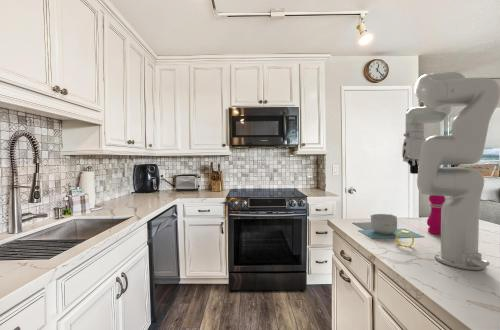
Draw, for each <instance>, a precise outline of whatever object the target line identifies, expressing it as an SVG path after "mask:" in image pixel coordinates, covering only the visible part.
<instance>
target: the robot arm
mask: <svg viewBox="0 0 500 330" xmlns="http://www.w3.org/2000/svg"><path fill="white" fill-rule="evenodd" d="M414 94H415V96H416V98H417V99H418V100H419V101H421V102H422V103H423V105H424V106H417V107H411V108H409V110H408V111H406V113H405V130H404V131H405V133H404V134H403V137H405V138H404V139H403V144H402V151H401V152H402V153H401V155H402V161H403V162H406V163H407V164H408V166H409V173H410V174H413V175H415V174H417V179H416V184H417V185H416V186H417V189H418V191H419V192H420V193H421V194H423V195H426V196H430V195H434V196H444V197H448V198H447V199H445V202H444V203H443V206H442V209H441V235H440V251H437V252H435V254H434V258H435V260H437V261H438V262H440V263H441V264H445V265H447V266H450V267H453V268H457V269H461V270H462V269H463V270H469V271H480V270H485V269H487V267H488V266H489V265H490V261H487V260H485V259H482V253H480V252H479V234H480V232H479V230H480V229H479V228H480V227H479V225H480V204H481V198H482V194H483V191H484V187H485V178H484V175H483V174H482V173H481V172H480V171H479V170H477V169H474V168H471V167H464V166H463V167H461V166H459V167H457V166H456V167H455V165H474V164H478V163H479V162H480V161H481V159H482V158H483V154H484V151H485V146H486V140H487V135H488V130H489V125H490V122H491V118H492V116H493V114H494V112H495V110H496V108H497V106H498V104H499V102H500V101H499V100H500V85H499V83H498V81H496V80H495V79H493V78H489V77H466V76H465V75H464V74H462V73H461V72H457V71H447V72H446V71H445V72H437V73H436V72H435V73H427V74H423V75H421V76H420V77H419V78H418V79H417V81H416V83H415V85H414ZM462 106H463V107H464V108H463V109H461V110H460V111H459V112H458V113H457V114H456V116H455V117H454V118H453V120H452V124H451V130H450V132H449V134H448V135H445V134H444V135H443V134H441V135H432V136H429V137H426V138H425V137H424V136H425V124H437V123H440V122H442V121H444V120H445V119H447V118H448V117H449V115H450V113H451V111H452V107H462ZM442 165H443V166H445V165H453V166H454V167H453V166H452V167H451V166H449V167H448V166H447V167H442Z"/></svg>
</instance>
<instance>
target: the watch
mask: <svg viewBox="0 0 500 330" xmlns="http://www.w3.org/2000/svg"><path fill="white" fill-rule="evenodd" d="M409 231H410V230H409ZM409 231H405V230H401V232H399V233H398V234H397V235H396V238H395V241H396V243H397V244H398V245H399V246H401V247H407V248H410V247H411V246H413V244H414V242H415V239H414V238H415V237H413V236H412V235H411V234H410V233H409ZM401 233H403V234H408V235H410V236H411V240H412V242H411V243H410V244H403V243H401V242H400V241H399V238H397V236H398V235H399V234H401Z"/></svg>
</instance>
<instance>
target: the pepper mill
mask: <svg viewBox="0 0 500 330" xmlns="http://www.w3.org/2000/svg"><path fill="white" fill-rule="evenodd" d="M428 201H429V202H430V203H429V207H431V208H430V209H431V210H430V213H429V216H428V217H427V219H426V224H427V226H428V228H427V232H428V233H429V234H433V235H436V236H437V235H438V236H441V209H442V206H443V204H444V202H445V201H446V196H434V195H428Z"/></svg>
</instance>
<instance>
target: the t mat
mask: <svg viewBox="0 0 500 330" xmlns="http://www.w3.org/2000/svg"><path fill="white" fill-rule="evenodd" d="M353 224H354V225H355V226H357V227H359V228H360V229H358V230H357V231H358V233H361V234H363V235H365V236H367V237H368V238H369V239H372V240H377V239H378V240H380V239H381V240H382V239H384V240H385V239H396V235H397V234H398V233H399V232H401V230H405V231H409V233H410V234H411V235H412V236H413V238H425V236H424V235H421V234H419V233H416V232H414V231H412V230H409V229H407V228H397V230H396V231H395V232H394V233H393V234H389V235H385V234H379V233H377V232H376V231H374V230H373V229H372V225H371V221H370V222H352V225H353ZM407 238H408V239H409V238H411V236H410V235H408V234H403V233H401V234H399V235H398V236H397V239H407ZM411 239H412V238H411Z"/></svg>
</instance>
